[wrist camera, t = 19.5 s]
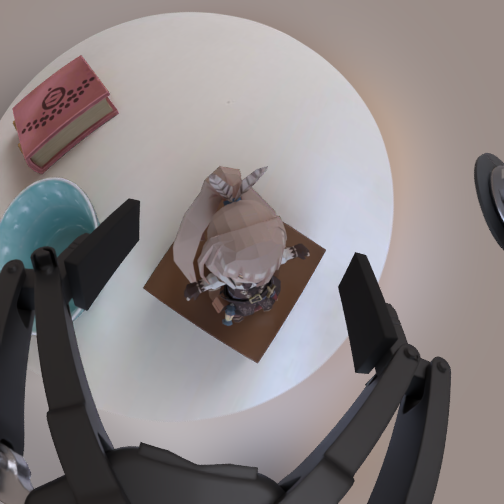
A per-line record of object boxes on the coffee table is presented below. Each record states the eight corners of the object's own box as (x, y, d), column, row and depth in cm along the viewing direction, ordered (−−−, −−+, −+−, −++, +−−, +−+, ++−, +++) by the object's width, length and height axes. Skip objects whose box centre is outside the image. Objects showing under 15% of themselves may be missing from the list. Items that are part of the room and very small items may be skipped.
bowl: (80, 358, 26) (42, 369, 18) (14, 272, 27) (-25, 262, 19) (156, 257, 30) (133, 239, 22) (77, 182, 31) (47, 152, 22)
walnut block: (308, 260, 31) (326, 249, 25) (251, 352, 29) (257, 363, 23) (219, 203, 32) (217, 181, 26) (158, 291, 29) (142, 288, 23)
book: (22, 126, 32) (8, 111, 27) (89, 73, 34) (81, 54, 30) (38, 177, 30) (20, 163, 25) (118, 113, 33) (108, 91, 28)
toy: (209, 349, 22) (136, 286, 9) (180, 263, 26) (117, 139, 12) (308, 310, 23) (369, 203, 10) (269, 231, 27) (277, 93, 14)
